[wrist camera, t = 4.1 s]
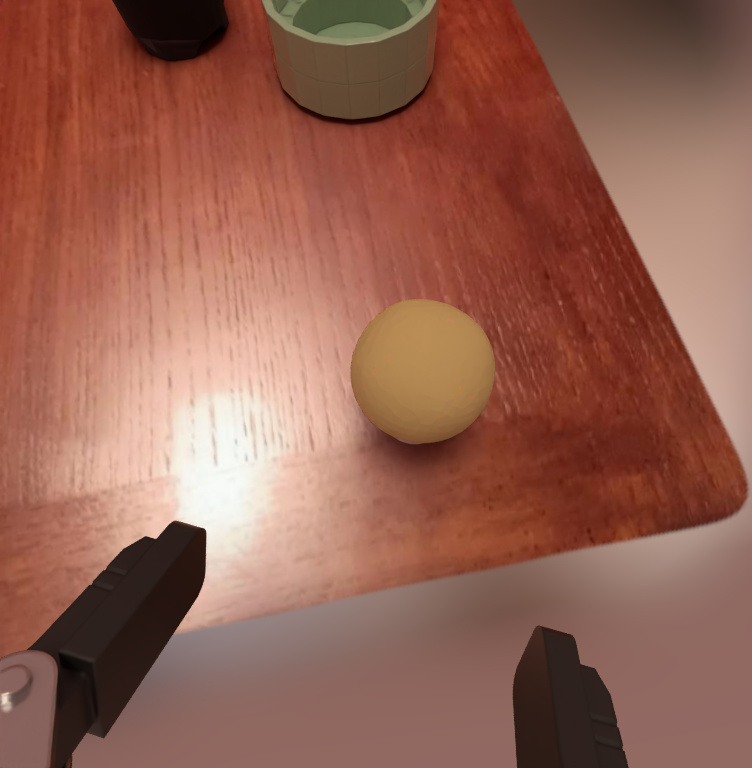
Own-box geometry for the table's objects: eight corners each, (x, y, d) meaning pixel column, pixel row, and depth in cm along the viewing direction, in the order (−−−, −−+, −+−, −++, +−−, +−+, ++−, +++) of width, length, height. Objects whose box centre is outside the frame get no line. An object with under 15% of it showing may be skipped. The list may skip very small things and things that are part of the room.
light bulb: (339, 439, 28) (316, 377, 19) (388, 348, 30) (389, 250, 20) (441, 489, 27) (471, 450, 17) (485, 392, 29) (533, 309, 19)
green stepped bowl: (464, 59, 39) (477, -27, 33) (359, 151, 35) (354, 73, 30) (351, -6, 41) (345, -95, 36) (245, 73, 38) (221, -11, 33)
